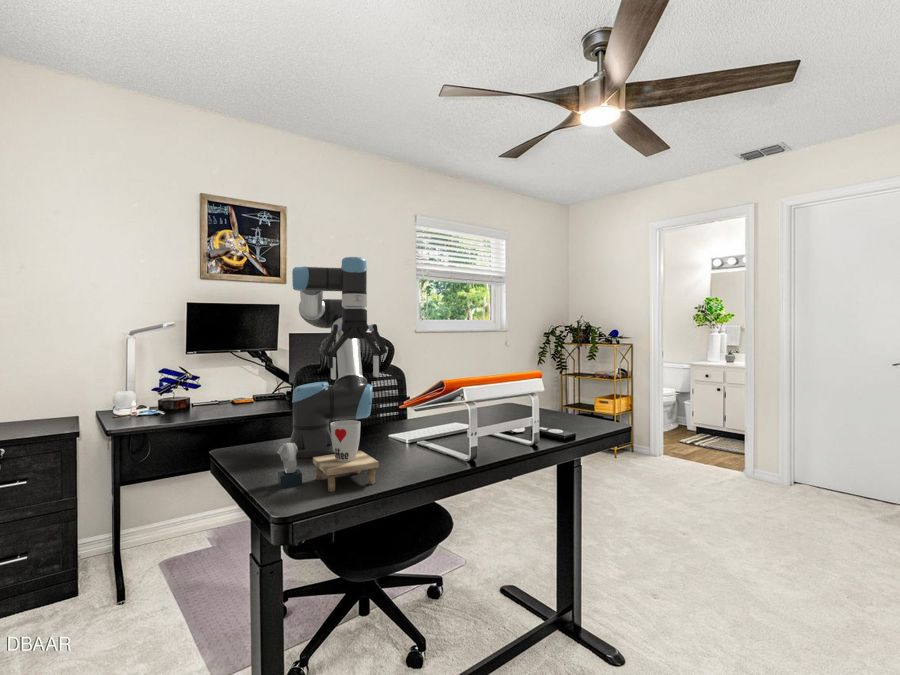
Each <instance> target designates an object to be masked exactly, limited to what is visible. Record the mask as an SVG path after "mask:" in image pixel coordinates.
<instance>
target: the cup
mask: <svg viewBox="0 0 900 675" xmlns="http://www.w3.org/2000/svg"><path fill="white" fill-rule="evenodd" d="M329 428H330V434H331V440H332V446H333V451H334V452H333V454H335V458H336V460H337V461H339V462H349V461H353V460H355V458H356V454H357V451H359V446H360V438H361V421H359V420H355V419H344V420H339V421H338V420H335V421H333V422H331V423H330V424H329Z"/></svg>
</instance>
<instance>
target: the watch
mask: <svg viewBox="0 0 900 675" xmlns="http://www.w3.org/2000/svg"><path fill="white" fill-rule="evenodd" d="M277 454H279V457H280V459H281V461H282V462H283V469H284V470H283V471H278V472H277V483H278V486H279V488H280V489H284V488H290V487H296V486H303V472H302V471H301V470H300V469H299V468H297V463H298V462H297V457H296V456H295V455H296V454H297V446H296V444H295V443H289V442H287V443H283V444H282V445H281V446H280V447H279V448H278V450H277Z"/></svg>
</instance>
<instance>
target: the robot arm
mask: <svg viewBox="0 0 900 675" xmlns="http://www.w3.org/2000/svg"><path fill="white" fill-rule="evenodd" d="M367 271H368V268H367V260H366V258H364V257H358V256H346V257H343V258H342V260H341V266H340V267H323V266H322V267H317V266H295V267H293V269H292V272H291V273H292V277H291V278H292V279H291V280H292V289H293V290H294V291H297V292H298V291H299V296H300V301H299V303H298V311H299V316H300V317H301V319H303V320H304V321H305V322H306V323H307V324H309V325H311V326H312V327H315V328H320V329H330V333H329V335H328V337H327V340H326V341H325V342H324V345H323V348H322V350H321V352H320V354H321V355H322V356H324V357H326V359H327V368H328V369H330V379H331V380H335V382H334V385H330V384H329V382H328V381H317V382H310V383H306V384H302V385H298V386H296V387H295V388H294V389H293V392H292V399H291V400H292V401H291V403H292V433H291V436H290V439H289V442H288V443H295V444H296V446H297V454H296V455H295V456H296V458H300V459H301V458H302V459H307V458H313V457H318V456H325V455H331V454H333V453H334V451H333V446H332V440H331V430H330V424H329V422H330V421H338V420H339V421H344V420H359V419H366V418H368V417H370V415H371V412H372V403H373V402H372V401H373V385H372V384H370V383H368V380H367V378H366V377H365V376H363V366H362V357H361V346H360V340H363V341H364V342H365V343H366V344H367V346H368V347H369V349H371V351H372V352H373V353H374V354H375V355H373V356H372V361H373V362H372V365H373V366H372V368H373V369H372V370H373V371H372V372H373V375H372V376H373V377H375V378H379V376H380V366H382V356H383V355H384V354H387V352H388V350H387V348H386V346H385V344H384V341H383V339H382V337H381V335H380V333H379V331H378V325H377V324H376V323H372V324H368V310H367V309H366V308H367V307H368V292H367V285H368V284H367V283H368V281H367V277H368V276H367V275H368V274H367ZM324 292H341V299H340V298H339V299H336V298H335V299H332V298H324ZM368 330H369V331H370V332H371V335H372V336H373V338H374V341H375V342H374V341H373V340H372V339H371V338H370V336H369V335H368V334H367V331H368ZM335 339H336V340H335ZM334 341H336V342H335V344H334V345H333V346H332V344H333V342H334ZM335 355H337V356H336V357H335ZM337 376H338V377H337Z"/></svg>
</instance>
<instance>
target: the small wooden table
mask: <svg viewBox="0 0 900 675" xmlns="http://www.w3.org/2000/svg"><path fill="white" fill-rule="evenodd" d="M312 463H313V464H314V465H315V466H316V469H315V471H316V478H315V479H316V480H317V481H323V480H324V474H325V475H326V476H327V492H330V493H333V492H335V491H336V475H340V474H346V473H353V472H354V474H355V475H359V474H362V471H366V470H367V472H368V474H367V477H368V483H367V484H368V485H375V484H376V469H378V468H380V461H379V460H376V459H375V458H374V457H372V456H371V455H369V454H367V453H365V452H364V451H362V450H358V451H357V454H356V458H355V460H353V461H349V462H339V461H337V460H336V458H335V454H334V453H332V454H328V455H324V456H318V457H312Z"/></svg>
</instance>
